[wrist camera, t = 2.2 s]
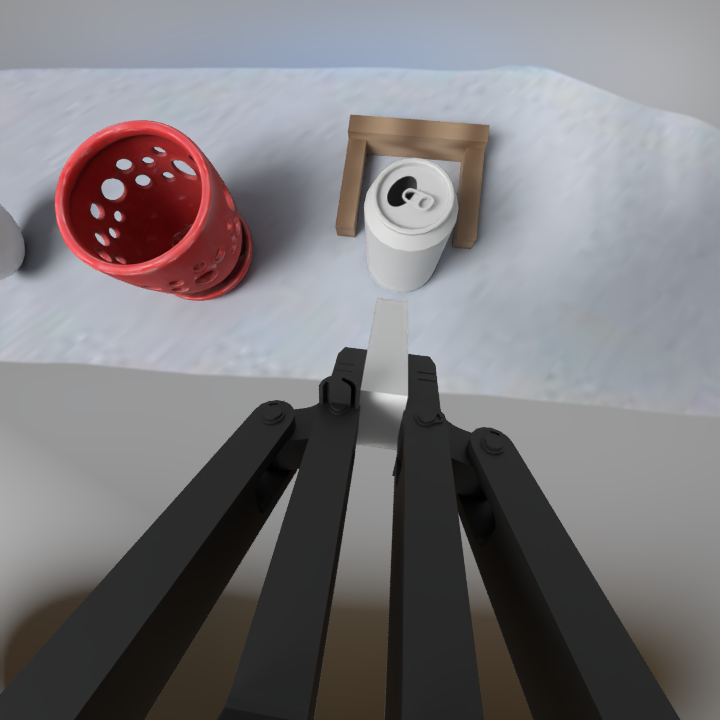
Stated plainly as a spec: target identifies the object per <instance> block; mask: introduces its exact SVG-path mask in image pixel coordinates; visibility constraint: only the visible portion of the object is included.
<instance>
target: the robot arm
mask: <svg viewBox="0 0 720 720" xmlns="http://www.w3.org/2000/svg"><path fill="white" fill-rule="evenodd" d="M356 445H363V446H370V447H378V448H385V449H392V450H396V449H397V457H396V462H395V466H394V471H393V476H395V478H394V502H393V503H394V504H393V526H392V551H391V575H390V600H389V623H388V647H387V671H386V695H385V720H484V717H483V709H482V701H481V694H480V687H479V686H480V685H479V678H478V669H477V662H476V653H475V645H474V637H473V630H472V621H471V613H470V606H469V597H468V589H467V581H466V573H465V565H464V557H463V549H462V541H461V533H460V525H459V517H458V514H459V516H460V519H461V522H462V524H463V527H464V530H465V533H466V536H467V538H468V541H469V544H470V546H471V549H472V552H473V555H474V557H475V560H476V563H477V566H478V569H479V571H480V574H481V577H482V580H483V583H484V585H485V588H486V591H487V594H488V596H489V599H490V602H491V605H492V607H493V610H494V613H495V616H496V618H497V621H498V624H499V627H500V629H501V632H502V635H503V638H504V640H505V643H506V646H507V649H508V651H509V654H510V657H511V660H512V663H513V665H514V668H515V671H516V673H517V676H518V679H519V682H520V684H521V687H522V690H523V693H524V696H525V698H526V701H527V704H528V707H529V709H530V712H531V715H532V718H533V720H680V718H679V717H678V715H677V714H676V712H675V710H674V709H673V707H672V705H671V704H670V702H669V700H668V699H667V697H666V695H665V694H664V692H663V690H662V689H661V687H660V685H659V684H658V682H657V681H656V679H655V677H654V676H653V674H652V672H651V671H650V669H649V667H648V666H647V664H646V662H645V661H644V659H643V657H642V656H641V654H640V652H639V651H638V649H637V648H636V646H635V644H634V643H633V641H632V639H631V638H630V636H629V634H628V633H627V631H626V629H625V628H624V626H623V624H622V623H621V621H620V619H619V618H618V616H617V614H616V613H615V611H614V610H613V608H612V606H611V604H610V603H609V601H608V600H607V598H606V596H605V595H604V593H603V591H602V590H601V588H600V586H599V585H598V583H597V581H596V580H595V578H594V576H593V575H592V573H591V571H590V570H589V568H588V567H587V565H586V563H585V562H584V560H583V558H582V556H581V555H580V553H579V552H578V550H577V548H576V547H575V545H574V543H573V542H572V540H571V538H570V537H569V535H568V533H567V532H566V530H565V528H564V527H563V525H562V523H561V522H560V520H559V519H558V517H557V515H556V513H555V512H554V510H553V509H552V507H551V505H550V504H549V502H548V500H547V499H546V497H545V495H544V494H543V492H542V490H541V489H540V487H539V486H538V484H537V482H536V480H535V479H534V477H533V476H532V474H531V472H530V470H529V469H528V467H527V466H526V464H525V462H524V461H523V459H522V457H521V456H520V454H519V452H518V451H517V449H516V448H515V446H514V444H513V443H512V441H511V440H510V439H509V438H508V437H507V436H506V435H505V434H503V433H502V432H500V431H498V430H495V429H493V428H486V427H482V428H478V429H476V430H475V431H474V432H472V433H470V432H468V431H465V430H463V429H460V428H458V427H456V426H454V425H452V424H451V423H450V422H448V421H447V420H446V418H445V415H444V414H443V413H442V412H441V409H440V401H439V392H438V384H437V375H436V366H435V364H434V362H433V361H432V359H431V358H430V357H428V356H420V355H412V354H408V301H401V300H392V299H383V298H377V300H376V305H375V311H374V317H373V322H372V328H371V334H370V339H369V345H368V350H364V349H356V348H348V347H345V348H344V349H343V350H342V351H341V352H340V353H338V356H337V359H336V364H335V366H334V370H333V373H332V376H329V377H327V378H325V379H324V380H322V382H321V383H320V385H319V403H318V404H317V405H315V406H312V407H308V408H303V409H295V410H294V409H293V407H292V406H291V405H290V404H288V403H286V402H284V401H278V400H275V401H269V402H266V403H263V404H261V405H260V406H259V407H257V408H256V409H255V410H254V411H253V412H252V414H251V415H250V416H249V417H248V418H247V419H246V420H245V421H244V422H243V424H242V425H241V426H240V427H239V428H238V429H237V430H236V431H235V432H234V434H233V435H232V436H231V437H230V438H229V439H228V440H227V442H226V443H225V444H224V445H223V446H222V447H221V448H220V449H219V450H218V451H217V453H216V454H215V455H214V456H213V457H212V458H211V459H210V461H209V462H208V463H207V464H206V465H205V466H204V467H203V468H202V469H201V471H200V472H199V473H198V474H197V475H196V476H195V477H194V478H193V479H192V481H191V482H190V483H189V484H188V485H187V486H186V487H185V488H184V490H183V491H182V492H181V493H180V494H179V495H178V496H177V497H176V498H175V500H174V501H173V502H172V503H171V504H170V505H169V506H168V507H167V509H166V510H165V511H164V512H163V513H162V514H161V515H160V516H159V517H158V519H157V520H156V521H155V522H154V523H153V524H152V525H151V527H150V528H149V529H148V530H147V531H146V532H145V533H144V534H143V536H142V537H141V538H140V539H139V540H138V541H137V542H136V543H135V544H134V546H133V547H132V548H131V549H130V550H129V551H128V552H127V553H126V554H125V555H124V557H123V558H122V559H121V560H120V561H119V562H118V564H116V566H115V567H114V568H113V569H112V570H111V571H110V572H109V573H108V575H107V576H106V577H105V578H104V579H103V580H102V581H101V582H100V584H99V585H98V586H97V587H96V588H95V589H94V590H93V591H92V593H91V594H90V595H89V596H88V597H87V598H86V599H85V600H84V601H83V602H82V604H81V605H80V606H79V607H78V608H77V609H76V611H74V613H73V614H72V615H71V616H70V617H69V618H68V619H67V620H66V621H65V623H64V624H63V625H62V626H61V627H60V628H59V629H58V630H57V632H56V633H55V634H54V635H53V636H52V637H51V638H50V639H49V641H48V642H47V643H46V644H45V645H44V646H43V647H42V648H41V649H40V651H39V652H38V653H37V654H36V655H35V656H34V657H33V658H32V660H31V661H30V662H29V663H28V664H27V665H26V666H25V668H23V670H22V671H21V672H20V673H19V674H18V675H17V676H16V677H15V679H14V680H13V681H12V682H11V683H10V684H9V685H8V686H7V688H6V689H5V690H4V691H3V692H2V693H1V694H0V720H145V718H146V717H147V715H148V713H149V712H150V710H151V708H152V707H153V705H154V703H155V702H156V700H157V699H158V697H159V695H160V694H161V692H162V690H163V689H164V687H165V685H166V684H167V682H168V681H169V679H170V677H171V676H172V674H173V672H174V671H175V669H176V668H177V666H178V664H179V662H180V661H181V659H182V658H183V656H184V654H185V653H186V651H187V650H188V648H189V646H190V645H191V643H192V641H193V640H194V638H195V636H196V635H197V633H198V631H199V630H200V628H201V627H202V625H203V623H204V622H205V620H206V618H207V617H208V615H209V614H210V612H211V610H212V609H213V607H214V605H215V604H216V602H217V600H218V599H219V597H220V596H221V594H222V592H223V591H224V589H225V587H226V586H227V584H228V583H229V581H230V579H231V578H232V576H233V574H234V573H235V571H236V569H237V568H238V566H239V565H240V563H241V561H242V559H243V558H244V556H245V555H246V553H247V551H248V550H249V548H250V546H251V545H252V543H253V542H254V540H255V538H256V537H257V535H258V533H259V532H260V530H261V529H262V527H263V525H264V524H265V522H266V520H267V519H268V517H269V516H270V514H271V512H272V510H273V509H274V507H275V505H276V504H277V502H278V500H279V499H280V497H281V496H282V494H283V493H284V491H285V489H286V488H287V486H288V484H289V483H290V481H291V480H292V478H293V476H294V474H295V473H296V471H297V469H299V472H298V475H297V479H296V481H295V485H294V488H293V491H292V494H291V497H290V501H289V504H288V507H287V511H286V514H285V517H284V520H283V523H282V527H281V530H280V533H279V536H278V540H277V543H276V546H275V549H274V553H273V556H272V559H271V562H270V566H269V569H268V572H267V575H266V579H265V582H264V585H263V588H262V591H261V595H260V598H259V601H258V604H257V608H256V611H255V614H254V617H253V620H252V624H251V627H250V631H249V634H248V637H247V640H246V643H245V646H244V650H243V653H242V656H241V660H240V663H239V666H238V669H237V672H236V675H235V679H234V682H233V685H232V688H231V691H230V694H229V697H228V700H227V702H226V704H225V707H224V709H223V710H222V712H221V714H220V715H219V717H218V719H217V720H314V716H315V710H316V703H317V697H318V691H319V684H320V677H321V671H322V664H323V658H324V652H325V646H326V639H327V632H328V626H329V620H330V613H331V607H332V600H333V594H334V588H335V581H336V575H337V568H338V562H339V555H340V549H341V542H342V536H343V529H344V523H345V517H346V510H347V504H348V497H349V491H350V484H351V478H352V471H353V465H354V459H355V449H356Z"/></svg>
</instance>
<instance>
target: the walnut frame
mask: <svg viewBox="0 0 720 720" xmlns="http://www.w3.org/2000/svg"><path fill="white" fill-rule="evenodd" d="M348 136H349V141H348V147H347V154H346V160H345V167H344V173H343V180H342V187H341V193H340V200H339V206H338V213H337V219H336V230H337V235H338V236H348V237H355V234H356V227H357V220H358V213H359V206H360V199H361V192H362V185H363V178H364V171H365V164H366V157H367V154H374V155H386V156H398V157H410V158H422V159H434V160H446V161H458V162H461V169H460V179H459V188H458V198H457V201H458V207H459V209H458V214H457V219H456V223H455V228H454V237H453V247H457V248H467V249H471V248H472V246H473V244H474V243H475V241H476V238H477V227H478V216H479V206H480V195H481V184H482V173H483V163H484V152H485V148H486V145H487V143H488V136H489V125H480V124H467V123H453V122H440V121H427V120H414V119H401V118H387V117H374V116H361V115H350V121H349V128H348Z"/></svg>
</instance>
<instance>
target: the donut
mask: <svg viewBox="0 0 720 720" xmlns="http://www.w3.org/2000/svg"><path fill="white" fill-rule="evenodd" d="M24 256H25V244H24V239H23V236H22V234H21V231H20V228H19V227H18V225H17V224H16V222H15V221H14V219H13V218H12V216H11V215H10V214H9V213H8V212H7V211H6V210H5V209H4V208H3V207H2V206H1V205H0V280H2V279H4V278H6V277H8V276H10V275H12V274H13V273H14V272H15V271H16V270H17V269H18V268H19V267H20V266H21V265H22V262H23V259H24Z"/></svg>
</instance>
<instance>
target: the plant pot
mask: <svg viewBox="0 0 720 720" xmlns="http://www.w3.org/2000/svg"><path fill="white" fill-rule="evenodd" d="M154 147H160V148H162V149H163V150H165V151H166V153H163V152H159V151H157V150H155V148H154ZM144 157H150V158H152V159H153V160H154V162H153V163H145V162H144V161H143V160H142V159H143V158H144ZM120 159H128V160H129V161H131V162H132V166H131V168H129V169H127V170H121V169H119V168H118V167H117V166H116V163H117V161H118V160H120ZM174 160H181V161H183V162H185V163H186V164H187V165H189V166H190V167H191V168H192V169H193V170H194V171H195V173H196V175H189V174H187V173H184V172H183V171H181V170H179V169H178V168H177V167H176V166H175V165H174V163H173V161H174ZM164 172H169V173H171V174H173V176H174V177H173V178H167V177H165V176H164V175H163V173H164ZM139 175H146V176H148V177H149V178H150V179H151V181H150V183H149V184H148V185H146V186H141V185H139V184H137V183H136V181H135V179H136V177H137V176H139ZM111 178H114V179H118V180H120V181H121V182H122V183H123V185H124V193H123V195H122V196H121V197H120V198H118V199H116V200H109V199H107V198H105V196H104V195H103V193H102V190H101V186H102V183H103V182H104V181H105V180H107V179H111ZM92 203H94V204H95V205H97V207H98V209H99V212H100V215H99V218H98V219H96V218H95V217H93V215H92V214H91V211H90V208H91V205H92ZM116 211H119V212H120V213H121V216H122V219H121V221H120V222H118V221H117V220H116V219H115V217H114V213H115V212H116ZM55 212H56V219H57V224H58V227H59V230H60V233H61V235H62V237H63V239H64V241H65V243H66V245H67V246H68V247H69V249H70V250H71V251H72V252H73V253H74V254H75V255H76V256H77V257H78V258H79V259H80V260H81V261H83V262H84V263H86V264H87V265H89V266H90V267H92V268H94V269H96V270H98V271H100V272H102V273H105V274H107V275H109V276H111V277H114V278H116V279H118V280H121V281H123V282H126V283H129V284H132V285H135V286H138V287H141V288H145V289H149V290H154V291H159V292H164V293H171V294H174V295H176V296H178V297H180V298H183V299H188V300H195V301H203V300H210V299H214V298H217V297H220V296H222V295H224V294H226V293H227V292H229V291H230V290H232V289H233V288H234V287H235V286H236V285H237V284H238V283H239V282H240V281H241V280H242V279H243V277H244V276H245V274H246V272H247V270H248V268H249V266H250V263H251V259H252V253H253V244H252V237H251V234H250V231H249V228H248V226H247V224H246V222H245V221H244V219H243V218H242V217H241V215H240V214H239V213H238V211H237V208H236V205H235V203H234V200H233V198H232V196H231V194H230V192H229V190H228V188H227V187H226V185H225V183H224V181H223V180H222V179H221V177H220V175H219V174H218V172H217V171H216V169H215V168H214V166H213V165H212V164H211V162H210V161H209V160H208V158H207V157H206V156H205V155H204V153H203V152H202V151H201V150H200V148H199V147H198V146H197V145H196V144H195V143H194V142H193V141H192V140H191V139H190V138H189V137H187V136H186V135H185V134H183V133H182V132H180V131H179V130H177V129H175V128H173V127H171V126H169V125H166V124H163V123H159V122H155V121H147V120H140V121H128V122H123V123H119V124H116V125H113V126H110V127H107V128H105V129H103V130H101V131H99V132H97V133H96V134H94V135H92V136H91V137H90V138H88V139H87V140H86V141H85V142H83V143H82V144H81V145H80V146H79V147H78V148H77V149H76V151H75V152H74V153H73V154H72V155H71V157H70V158H69V160H68V161H67V163H66V165H65V166H64V168H63V170H62V173H61V175H60V177H59V181H58V184H57V189H56V195H55ZM109 228H112V229H113V230H114V231H115V233H116V238H114V237H112V236H111V235H110V233H109ZM95 233H97V234H99V235H100V236H101V237H102V238H103V240H104V242H105V246H104V245H102V244H101V243H100V242H99V241H98V240H97V238H96V237H95ZM100 255H101V256H102V257H103V258H102V257H101V256H100ZM116 259H118V260H119V261H120V262H121V263H120V262H119V261H117V260H116Z"/></svg>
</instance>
